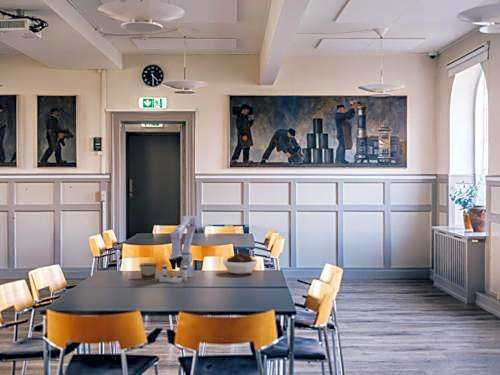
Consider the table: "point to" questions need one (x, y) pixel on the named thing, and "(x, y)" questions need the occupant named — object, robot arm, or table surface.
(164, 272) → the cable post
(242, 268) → the white bowl
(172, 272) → the block
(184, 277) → the cable post
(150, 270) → the food container
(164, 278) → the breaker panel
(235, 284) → the table surface
